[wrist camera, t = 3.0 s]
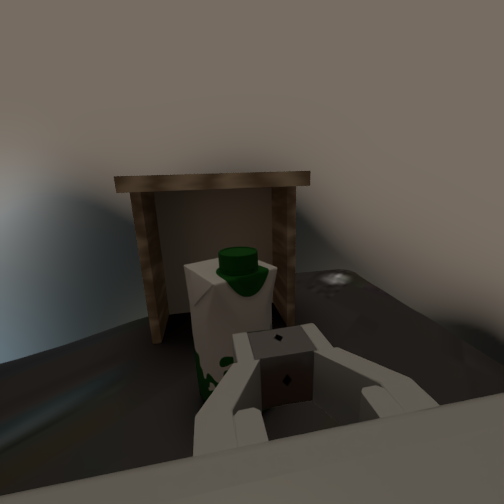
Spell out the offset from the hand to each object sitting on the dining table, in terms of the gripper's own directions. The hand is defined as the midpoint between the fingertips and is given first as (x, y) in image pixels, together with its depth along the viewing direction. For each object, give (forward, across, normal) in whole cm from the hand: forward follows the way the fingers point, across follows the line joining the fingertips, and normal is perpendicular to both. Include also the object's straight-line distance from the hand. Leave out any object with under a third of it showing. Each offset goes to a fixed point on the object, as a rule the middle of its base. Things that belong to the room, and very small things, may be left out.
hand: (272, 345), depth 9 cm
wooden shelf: (+37, 0, +21) cm, 43 cm away
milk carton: (+19, 0, +21) cm, 29 cm away
